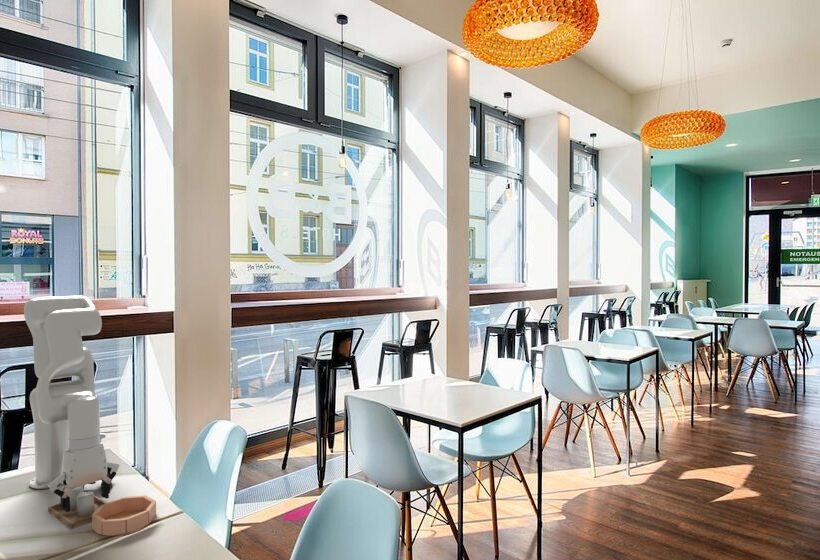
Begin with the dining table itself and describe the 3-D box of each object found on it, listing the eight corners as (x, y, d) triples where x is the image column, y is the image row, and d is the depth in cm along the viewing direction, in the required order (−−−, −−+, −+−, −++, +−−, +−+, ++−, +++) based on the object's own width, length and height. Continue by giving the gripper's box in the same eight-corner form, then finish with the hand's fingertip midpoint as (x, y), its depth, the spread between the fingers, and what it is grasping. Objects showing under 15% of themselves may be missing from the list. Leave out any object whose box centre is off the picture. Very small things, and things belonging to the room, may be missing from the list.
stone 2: (74, 515, 140) (74, 495, 140) (90, 509, 143) (90, 490, 143) (80, 519, 137) (80, 499, 137) (96, 513, 141) (96, 494, 140)
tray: (48, 513, 142) (48, 507, 142) (91, 498, 151) (91, 492, 151) (71, 531, 132) (71, 524, 132) (116, 514, 141) (116, 507, 141)
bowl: (85, 526, 135) (84, 510, 135) (139, 506, 146) (138, 491, 146) (109, 543, 126) (108, 526, 126) (164, 520, 138) (164, 505, 138)
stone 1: (64, 508, 144) (64, 489, 144) (80, 502, 147) (79, 484, 147) (70, 512, 142) (69, 492, 141) (86, 506, 145) (85, 487, 145)
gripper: (111, 431, 149) (113, 489, 149) (42, 448, 135) (44, 512, 135) (123, 436, 144) (125, 495, 144) (53, 454, 130) (55, 520, 131)
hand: (86, 503), depth 140 cm, fingers open, 9 cm apart
